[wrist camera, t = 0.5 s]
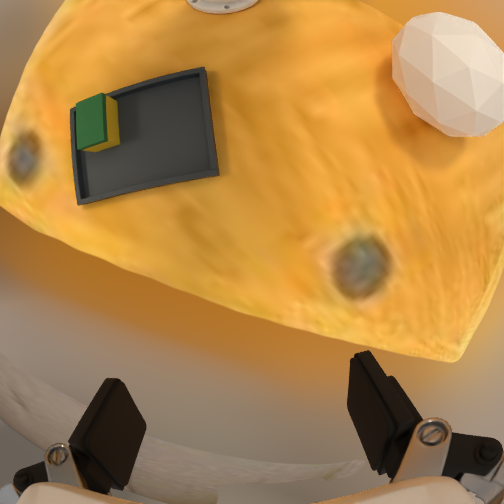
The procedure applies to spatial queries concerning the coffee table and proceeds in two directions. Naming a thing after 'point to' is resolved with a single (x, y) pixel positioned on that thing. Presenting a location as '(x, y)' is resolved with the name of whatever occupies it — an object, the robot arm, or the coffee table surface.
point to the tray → (151, 139)
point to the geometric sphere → (450, 74)
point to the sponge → (97, 123)
